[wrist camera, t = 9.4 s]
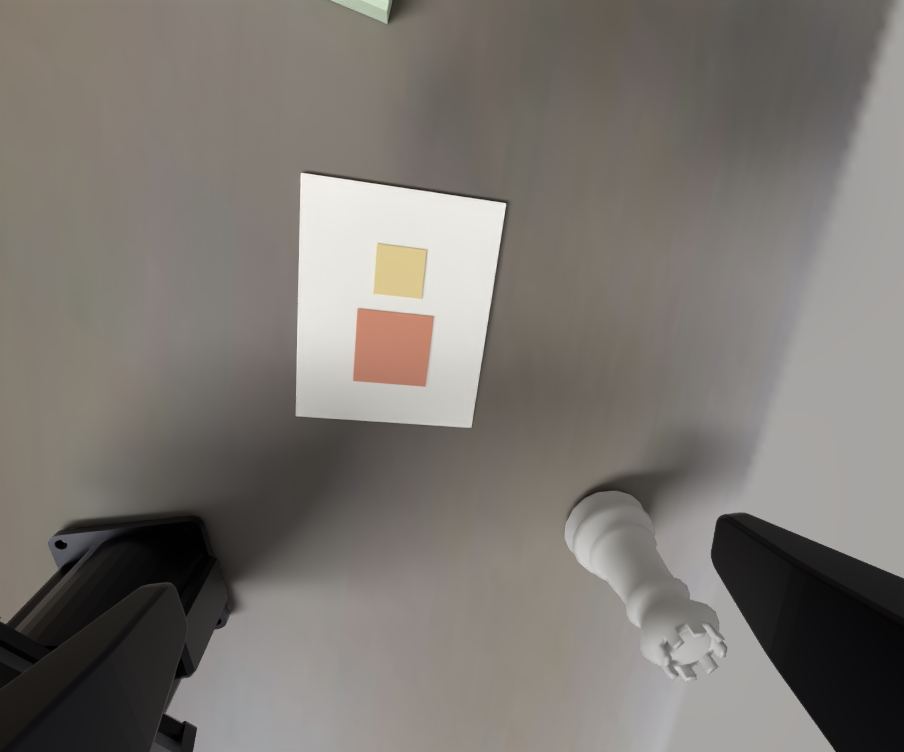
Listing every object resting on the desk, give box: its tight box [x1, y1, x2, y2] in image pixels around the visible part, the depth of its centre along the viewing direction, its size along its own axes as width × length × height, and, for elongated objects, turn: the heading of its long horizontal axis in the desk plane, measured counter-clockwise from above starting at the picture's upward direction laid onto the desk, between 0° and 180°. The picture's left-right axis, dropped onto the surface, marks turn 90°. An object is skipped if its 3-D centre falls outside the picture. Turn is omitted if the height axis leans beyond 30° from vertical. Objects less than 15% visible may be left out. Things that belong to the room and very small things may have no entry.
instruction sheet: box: [296, 173, 506, 428], centre depth 19 cm, size 10×8×1 cm
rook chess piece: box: [565, 491, 727, 682], centre depth 20 cm, size 4×4×8 cm
